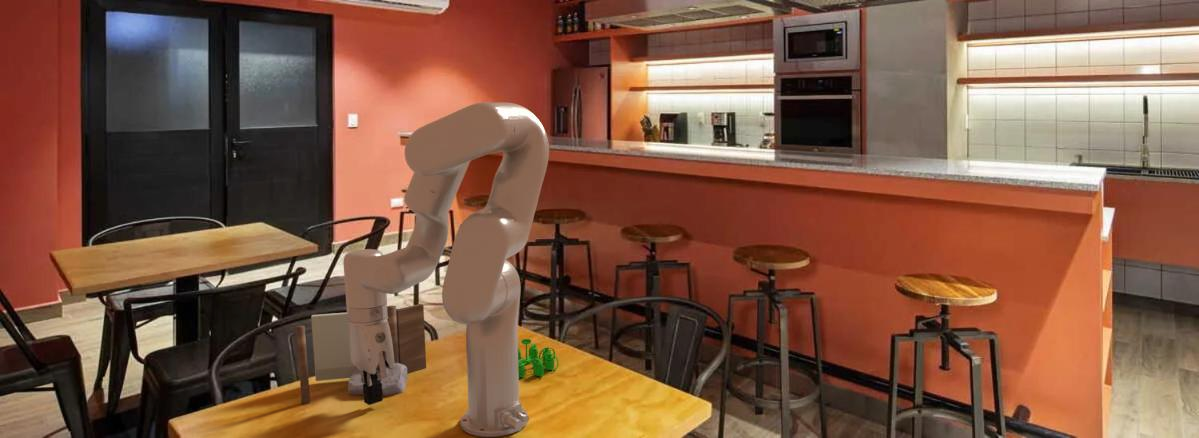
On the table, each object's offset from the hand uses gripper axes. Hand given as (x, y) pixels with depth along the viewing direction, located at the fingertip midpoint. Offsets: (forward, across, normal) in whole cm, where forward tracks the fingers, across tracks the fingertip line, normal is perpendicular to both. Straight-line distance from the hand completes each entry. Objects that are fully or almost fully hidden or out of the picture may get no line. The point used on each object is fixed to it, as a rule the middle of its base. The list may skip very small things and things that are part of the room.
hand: (373, 401), depth 137 cm
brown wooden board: (+1, +12, -5) cm, 13 cm away
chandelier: (+2, -5, -35) cm, 35 cm away
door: (0, +17, -3) cm, 17 cm away
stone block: (+2, +9, -5) cm, 11 cm away
